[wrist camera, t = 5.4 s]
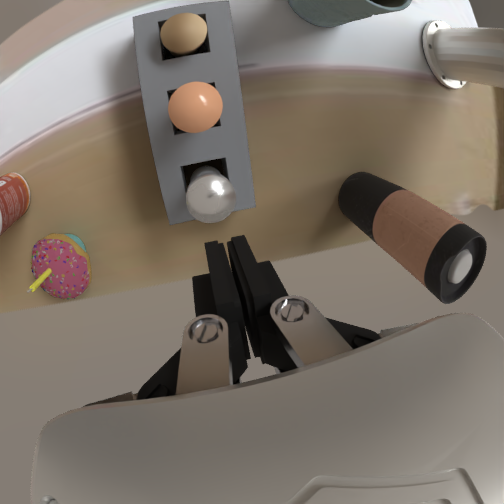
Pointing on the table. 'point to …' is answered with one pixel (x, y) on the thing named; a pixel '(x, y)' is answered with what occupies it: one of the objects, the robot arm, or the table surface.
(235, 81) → the socket block
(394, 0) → the green tapered cup
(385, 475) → the robot arm
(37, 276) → the cupcake
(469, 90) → the table surface
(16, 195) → the pill bottle
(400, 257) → the travel mug
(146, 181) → the table surface
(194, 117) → the terracotta plug
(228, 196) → the aluminium plug
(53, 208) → the table surface
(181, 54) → the oak plug
